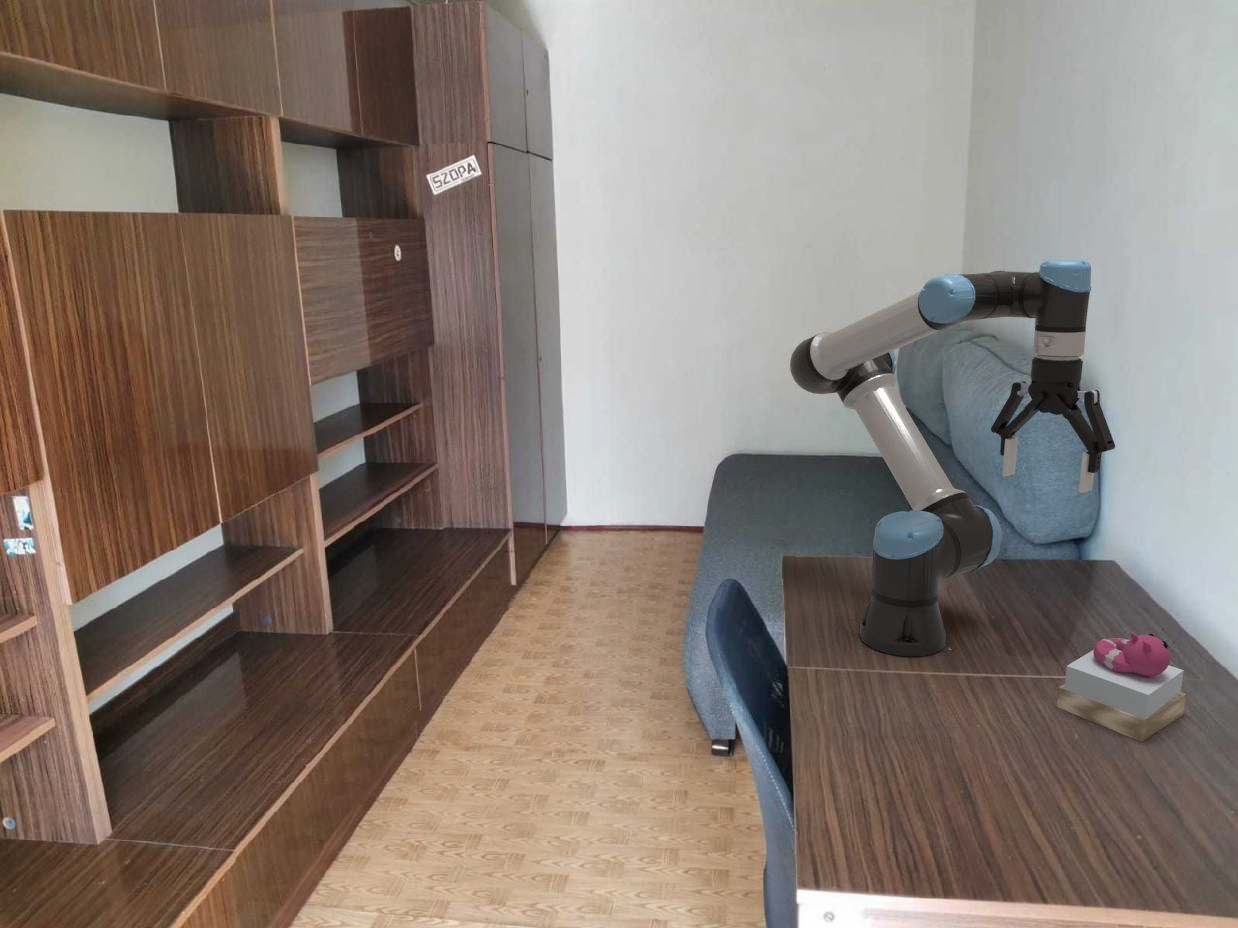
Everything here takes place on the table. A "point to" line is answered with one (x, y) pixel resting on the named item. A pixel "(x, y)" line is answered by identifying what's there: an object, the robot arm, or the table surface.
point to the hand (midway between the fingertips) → (1045, 482)
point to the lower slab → (1121, 714)
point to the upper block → (1123, 686)
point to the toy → (1134, 654)
